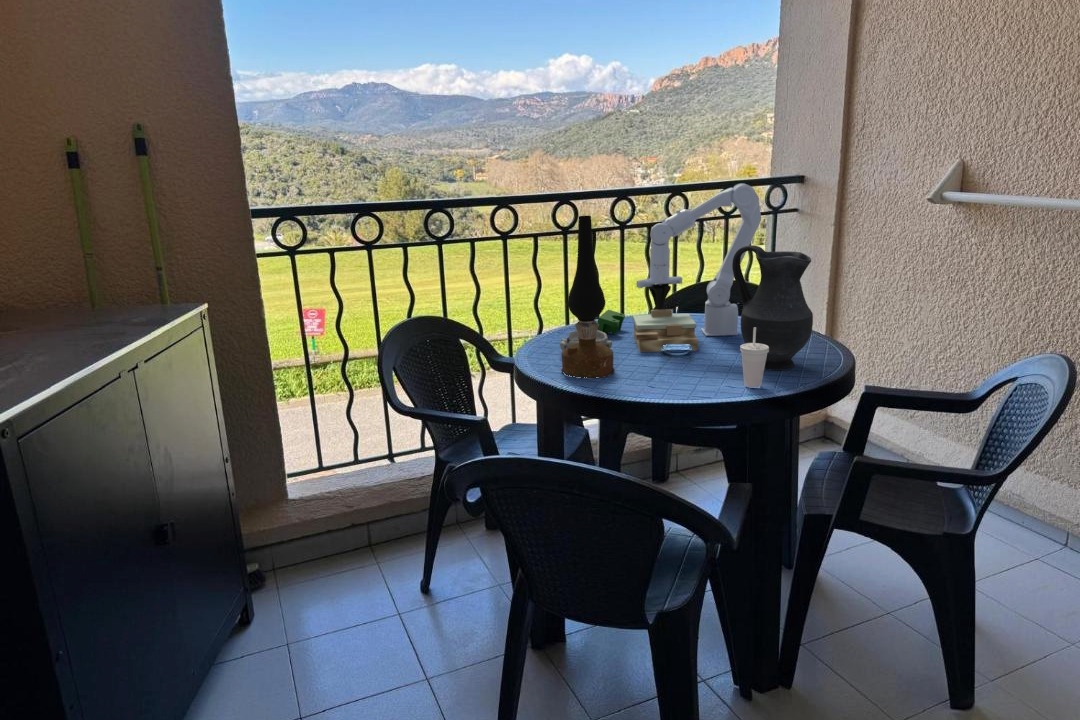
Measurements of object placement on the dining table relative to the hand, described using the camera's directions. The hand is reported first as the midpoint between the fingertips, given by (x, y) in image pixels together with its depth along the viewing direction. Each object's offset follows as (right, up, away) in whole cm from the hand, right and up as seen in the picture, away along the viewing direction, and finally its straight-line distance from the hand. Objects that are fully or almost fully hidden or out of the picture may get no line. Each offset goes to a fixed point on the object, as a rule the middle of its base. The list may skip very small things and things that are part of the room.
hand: (659, 308), depth 205 cm
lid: (0, -7, -9) cm, 11 cm away
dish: (-23, -13, -14) cm, 30 cm away
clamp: (-14, -7, +6) cm, 17 cm away
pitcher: (+22, -17, -32) cm, 42 cm away
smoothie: (+13, -22, -48) cm, 54 cm away
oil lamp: (-24, -19, -32) cm, 44 cm away
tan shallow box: (0, -11, -9) cm, 14 cm away
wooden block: (-6, -9, -17) cm, 20 cm away
